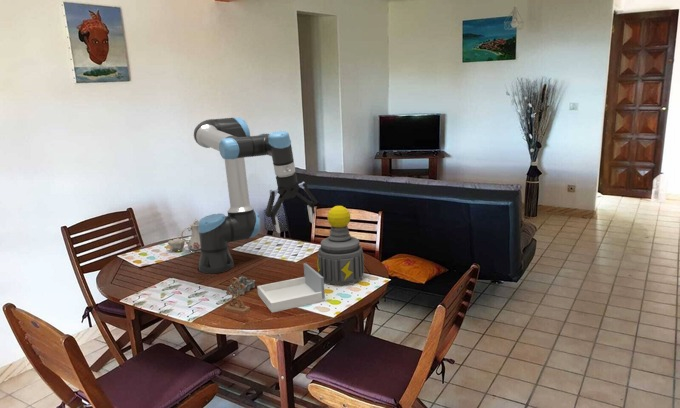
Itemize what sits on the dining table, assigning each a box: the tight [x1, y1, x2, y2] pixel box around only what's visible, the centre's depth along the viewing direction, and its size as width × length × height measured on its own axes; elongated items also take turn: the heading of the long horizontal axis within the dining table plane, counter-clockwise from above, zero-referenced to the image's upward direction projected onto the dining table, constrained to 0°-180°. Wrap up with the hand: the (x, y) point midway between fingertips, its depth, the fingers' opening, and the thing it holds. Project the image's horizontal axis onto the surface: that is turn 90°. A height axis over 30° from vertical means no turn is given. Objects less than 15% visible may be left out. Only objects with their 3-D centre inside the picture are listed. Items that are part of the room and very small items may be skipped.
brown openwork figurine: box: [223, 277, 251, 314], centre depth 176 cm, size 9×4×12 cm, turn 62°
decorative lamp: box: [316, 205, 365, 286], centre depth 200 cm, size 19×19×30 cm
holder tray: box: [256, 262, 326, 313], centre depth 184 cm, size 18×20×9 cm
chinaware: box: [165, 218, 201, 252], centre depth 248 cm, size 28×17×17 cm, turn 130°
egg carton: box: [226, 275, 257, 296], centre depth 194 cm, size 11×8×4 cm
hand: (295, 227), depth 189 cm, fingers open, 13 cm apart
